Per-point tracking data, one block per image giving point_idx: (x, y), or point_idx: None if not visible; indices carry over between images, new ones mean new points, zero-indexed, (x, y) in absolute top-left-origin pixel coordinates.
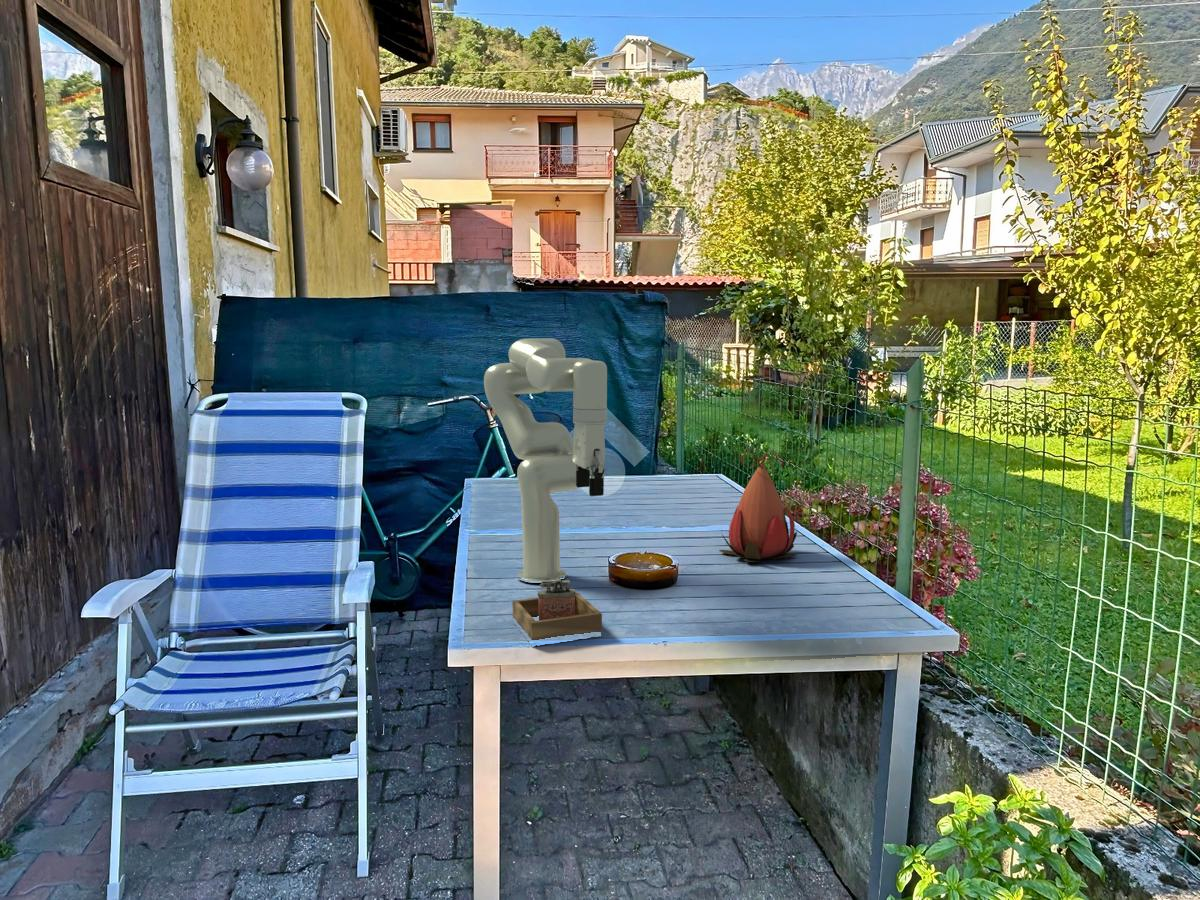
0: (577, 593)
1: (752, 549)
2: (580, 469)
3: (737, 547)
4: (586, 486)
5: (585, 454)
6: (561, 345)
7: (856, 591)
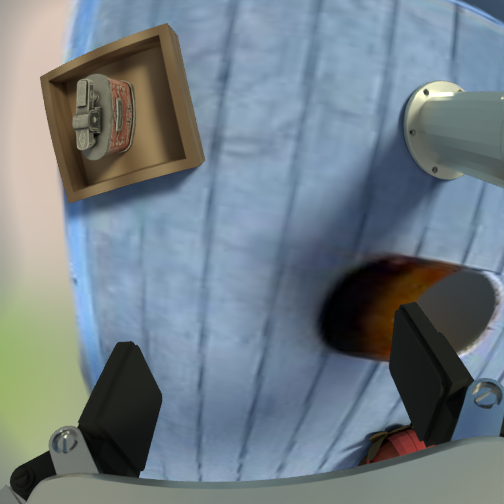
0: (191, 164)
1: (371, 452)
2: (447, 410)
3: (397, 438)
4: (390, 355)
5: None
6: None
7: (244, 480)
